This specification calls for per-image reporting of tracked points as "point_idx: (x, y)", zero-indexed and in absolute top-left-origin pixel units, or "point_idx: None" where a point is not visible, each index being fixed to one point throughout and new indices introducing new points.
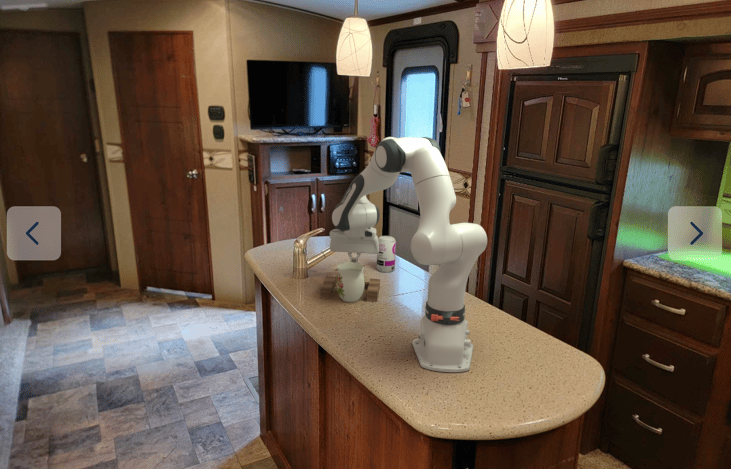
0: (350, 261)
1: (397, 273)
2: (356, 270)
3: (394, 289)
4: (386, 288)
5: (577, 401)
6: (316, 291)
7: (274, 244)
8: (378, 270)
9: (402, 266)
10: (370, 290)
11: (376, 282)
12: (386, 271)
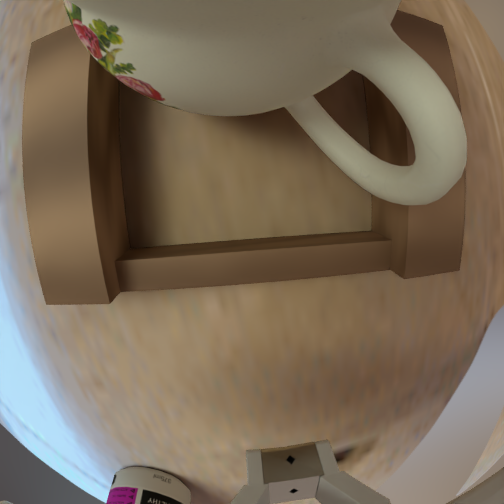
0: (330, 445)
1: (93, 456)
2: (158, 39)
3: (16, 279)
4: None
5: None
6: None
7: (484, 472)
8: (178, 479)
9: None
10: (70, 42)
11: (45, 225)
12: (134, 468)
